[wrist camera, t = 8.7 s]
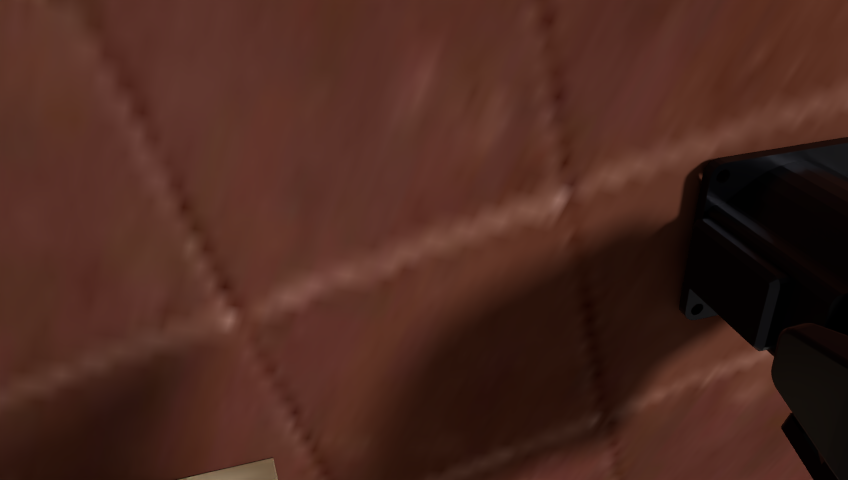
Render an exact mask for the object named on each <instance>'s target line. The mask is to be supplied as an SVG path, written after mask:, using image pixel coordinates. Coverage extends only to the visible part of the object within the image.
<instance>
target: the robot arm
mask: <svg viewBox="0 0 848 480" xmlns="http://www.w3.org/2000/svg"><path fill="white" fill-rule="evenodd" d="M722 170H723V171H722ZM720 171H722V173H721V175H720V176H719V177H717V175H718V174H719V172H720ZM679 310H680V311H681V313H682V314H683V315H684V316H685V317H686V318H687V319H689V320H697V319H702V318H707V317H711V316H716V315H719V316H720V317H721V318H722V319H723V320H725V321H726V322H727V323H728V324H729V325H730V326H731V327H732V328H733V329H734V330H735V331H736V332H738V333H739V334H740V335H741V336H742V337H743V338H744V339H745V340H746V341H747V342H748V343H749V344H751V345H752V346H753V347H754V348H755V349H756V350H758V351H763V350H767V351H768V352H770V353H771V354H772V355H773V356H774V360H773V364H772V369H771V375H772V380H773V382H774V385H775V387H776V389H777V390H778V392H779V393H780V395H781V396H782V398H783V399H784V401H785V402H786V404H787V405H788V407H789V408H790V410H791V411H792V413H790V414H789V416H788V417H787V419H786V420H785V422H784V423H783V424H782V426H781V428H782V430H783V432H784V433H785V435H786V437H787V438H788V440H789V441H790V443H791V445H792V446H793V448H794V449H795V451H796V453H797V454H798V456H799V457H800V459H801V460H802V462H803V464H804V465H805V467H806V468H807V470H808V472H809V473H810V475H811V476H812V478H813V480H848V137H846V138H840V139H833V140H827V141H821V142H815V143H809V144H803V145H797V146H790V147H784V148H778V149H772V150H766V151H760V152H753V153H747V154H741V155H735V156H729V157H723V158H718V159H715V160H713V161H711V162H710V163H709V164H708V165H707V166H706V168H705V170H704V172H703V177H702V182H701V188H700V193H699V199H698V204H697V210H696V216H695V221H694V227H693V232H692V238H691V243H690V249H689V254H688V260H687V266H686V271H685V277H684V282H683V288H682V294H681V299H680V305H679Z"/></svg>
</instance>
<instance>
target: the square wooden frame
mask: <svg viewBox="0 0 848 480" xmlns="http://www.w3.org/2000/svg"><path fill="white" fill-rule="evenodd" d="M179 480H278V478H277V473H276V469H275V464H274V460H273V458H271V459H266V460H262V461H257V462H253V463H249V464H244V465H240V466H236V467H231V468H227V469H223V470H218V471H214V472H209V473H205V474H201V475H196V476H192V477H188V478H183V479H179Z"/></svg>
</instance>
